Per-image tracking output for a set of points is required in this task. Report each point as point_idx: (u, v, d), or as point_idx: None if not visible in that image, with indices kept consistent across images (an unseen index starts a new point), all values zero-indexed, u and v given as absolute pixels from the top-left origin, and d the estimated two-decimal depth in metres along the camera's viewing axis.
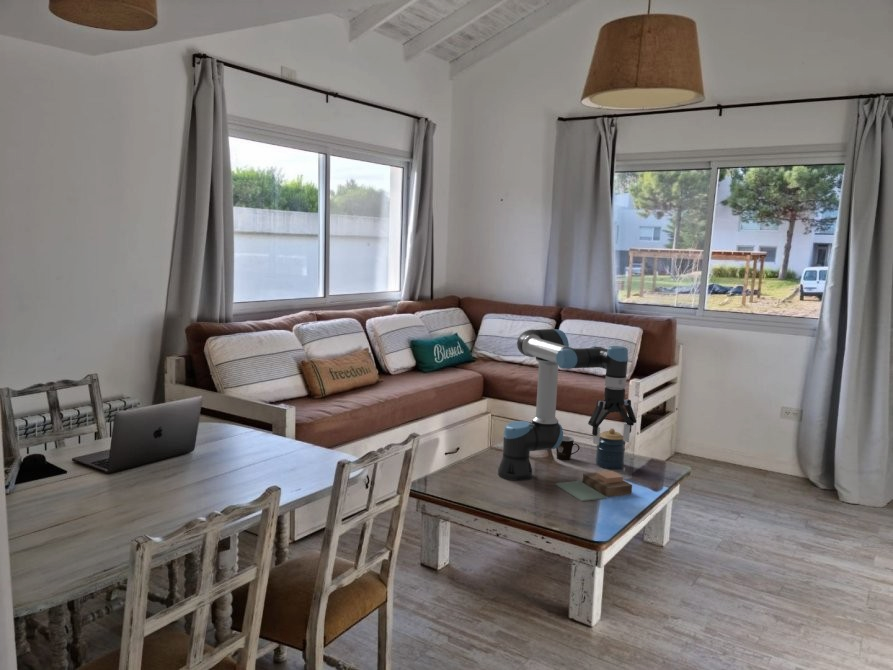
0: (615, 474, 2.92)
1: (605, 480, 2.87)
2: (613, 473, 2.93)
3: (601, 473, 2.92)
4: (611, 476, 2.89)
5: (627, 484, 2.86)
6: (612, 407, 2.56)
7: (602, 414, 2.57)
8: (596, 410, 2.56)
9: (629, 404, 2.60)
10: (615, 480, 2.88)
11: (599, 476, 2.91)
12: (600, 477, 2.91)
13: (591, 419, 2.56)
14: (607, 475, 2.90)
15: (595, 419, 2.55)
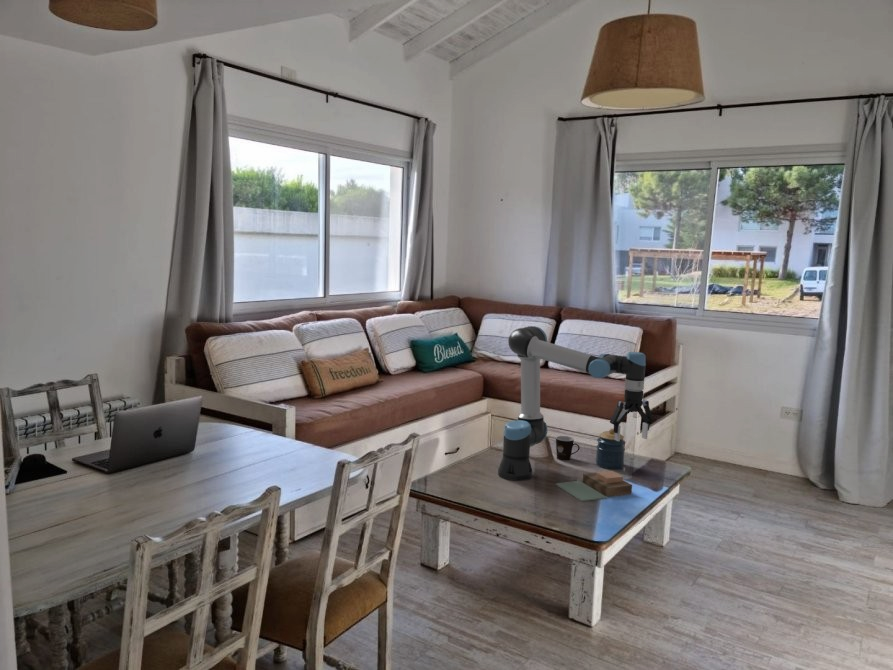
0: (615, 474, 2.92)
1: (605, 480, 2.87)
2: (613, 473, 2.93)
3: (601, 473, 2.92)
4: (611, 476, 2.89)
5: (627, 484, 2.86)
6: (631, 407, 2.84)
7: (622, 413, 2.84)
8: (617, 410, 2.83)
9: (647, 404, 2.87)
10: (615, 480, 2.88)
11: (599, 476, 2.91)
12: (600, 477, 2.91)
13: (612, 418, 2.84)
14: (607, 475, 2.90)
15: (616, 418, 2.82)
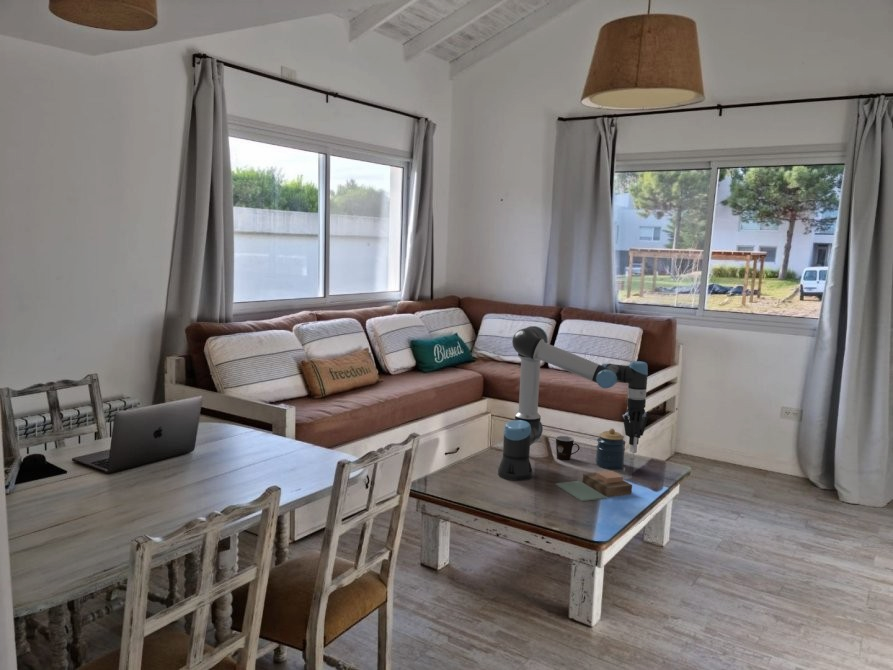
0: (615, 474, 2.92)
1: (605, 480, 2.87)
2: (613, 473, 2.93)
3: (601, 473, 2.92)
4: (611, 476, 2.89)
5: (627, 484, 2.86)
6: (635, 416, 2.90)
7: (631, 425, 2.92)
8: (625, 423, 2.91)
9: (646, 417, 2.93)
10: (615, 480, 2.88)
11: (599, 476, 2.91)
12: (600, 477, 2.91)
13: (626, 431, 2.92)
14: (607, 475, 2.90)
15: (629, 430, 2.91)
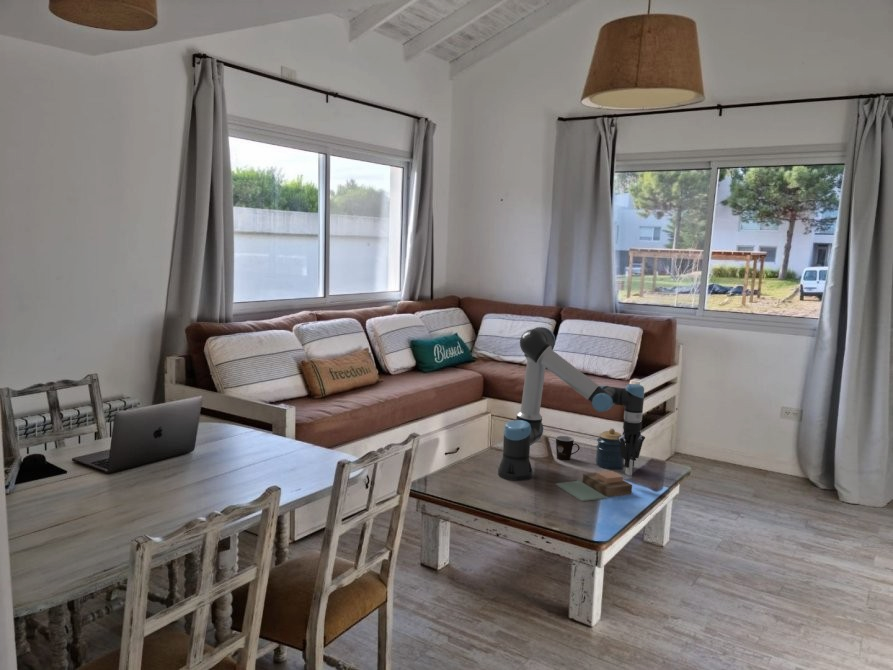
0: (615, 474, 2.92)
1: (605, 480, 2.87)
2: (613, 473, 2.93)
3: (601, 473, 2.92)
4: (611, 476, 2.89)
5: (627, 484, 2.86)
6: (631, 439, 2.91)
7: (627, 447, 2.93)
8: (621, 446, 2.92)
9: (642, 439, 2.94)
10: (615, 480, 2.88)
11: (599, 476, 2.91)
12: (600, 477, 2.91)
13: (621, 454, 2.93)
14: (607, 475, 2.90)
15: (624, 453, 2.92)
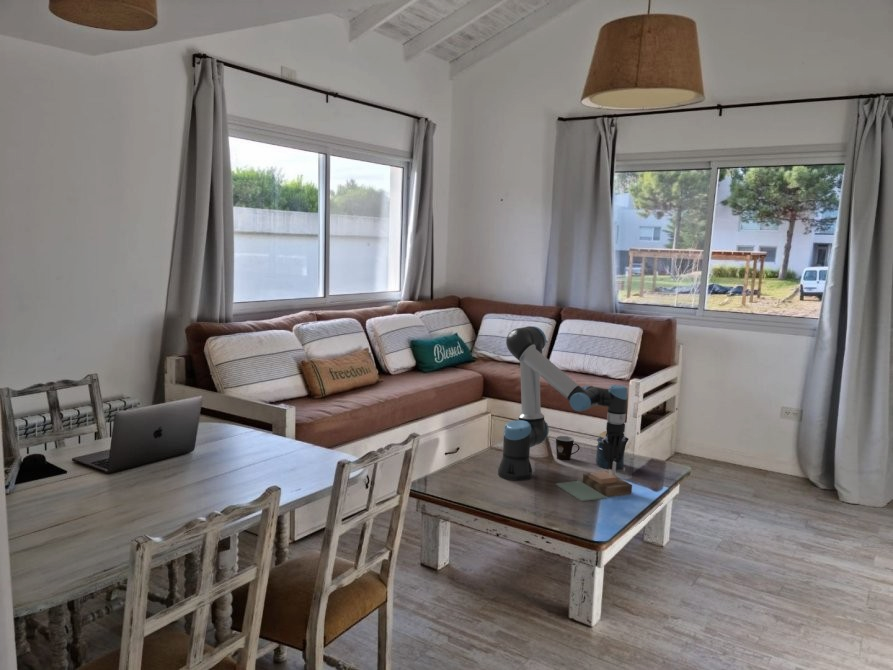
0: (609, 475, 2.90)
1: (599, 481, 2.86)
2: (607, 474, 2.92)
3: (595, 474, 2.91)
4: (605, 477, 2.88)
5: (627, 484, 2.86)
6: (614, 440, 2.88)
7: (610, 449, 2.90)
8: (604, 447, 2.89)
9: (625, 441, 2.91)
10: (609, 481, 2.87)
11: (593, 477, 2.90)
12: (594, 478, 2.89)
13: (605, 455, 2.90)
14: (601, 476, 2.89)
15: (608, 455, 2.88)
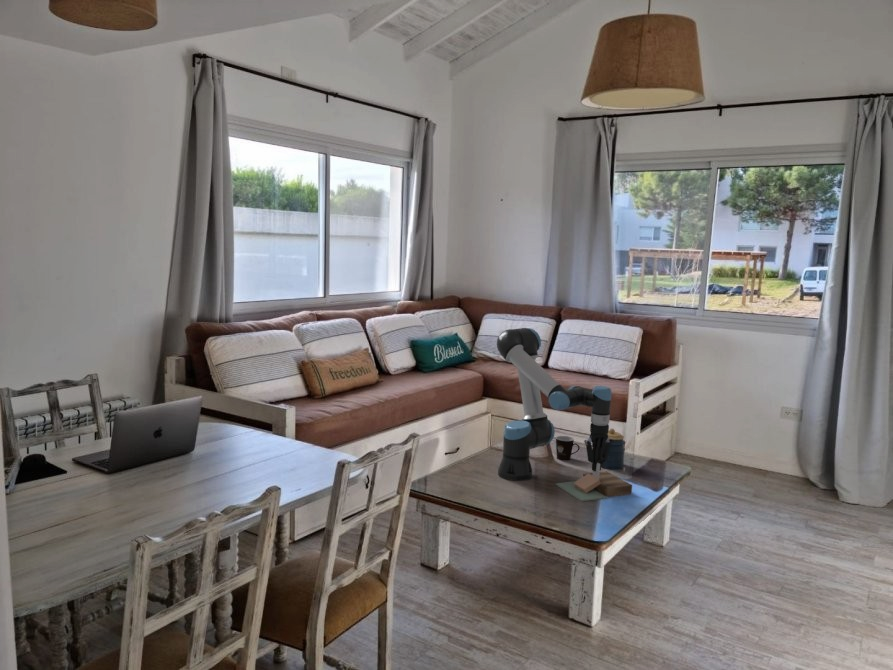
0: (592, 479, 2.87)
1: (583, 491, 2.84)
2: (590, 478, 2.88)
3: (578, 482, 2.88)
4: (588, 484, 2.85)
5: (627, 484, 2.86)
6: (598, 442, 2.85)
7: (594, 450, 2.87)
8: (588, 449, 2.85)
9: (609, 442, 2.88)
10: (593, 486, 2.84)
11: (577, 486, 2.88)
12: (578, 487, 2.87)
13: (588, 457, 2.87)
14: (584, 483, 2.86)
15: (591, 456, 2.85)
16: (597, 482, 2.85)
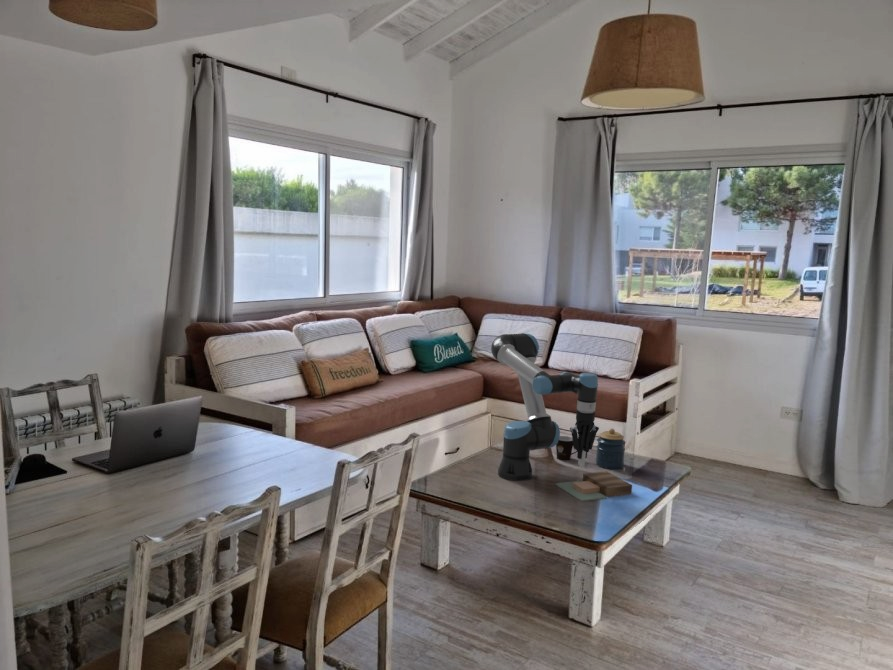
0: (592, 484, 2.88)
1: (581, 491, 2.83)
2: (590, 483, 2.89)
3: (578, 483, 2.88)
4: (588, 487, 2.85)
5: (627, 484, 2.86)
6: (584, 429, 2.81)
7: (580, 438, 2.83)
8: (573, 437, 2.82)
9: (596, 430, 2.84)
10: (592, 491, 2.84)
11: (576, 487, 2.87)
12: (577, 488, 2.87)
13: (574, 445, 2.83)
14: (584, 485, 2.86)
15: (577, 444, 2.82)
16: (597, 488, 2.85)
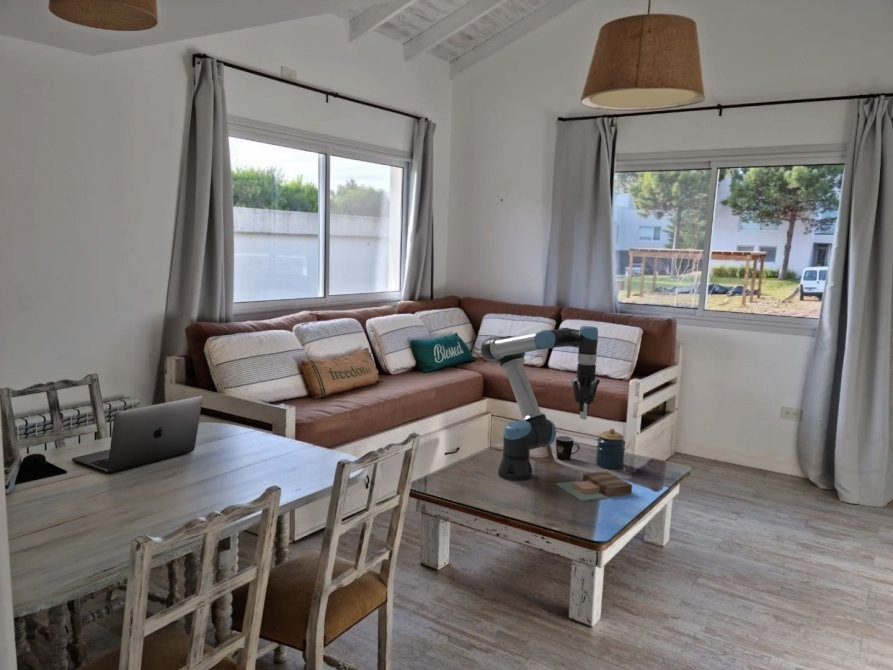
0: (592, 484, 2.88)
1: (581, 491, 2.83)
2: (590, 483, 2.89)
3: (578, 483, 2.88)
4: (588, 487, 2.85)
5: (627, 484, 2.86)
6: (585, 381, 2.85)
7: (581, 391, 2.87)
8: (575, 389, 2.86)
9: (597, 383, 2.88)
10: (592, 491, 2.84)
11: (576, 487, 2.87)
12: (577, 488, 2.87)
13: (576, 397, 2.87)
14: (584, 485, 2.86)
15: (578, 396, 2.86)
16: (597, 488, 2.85)
